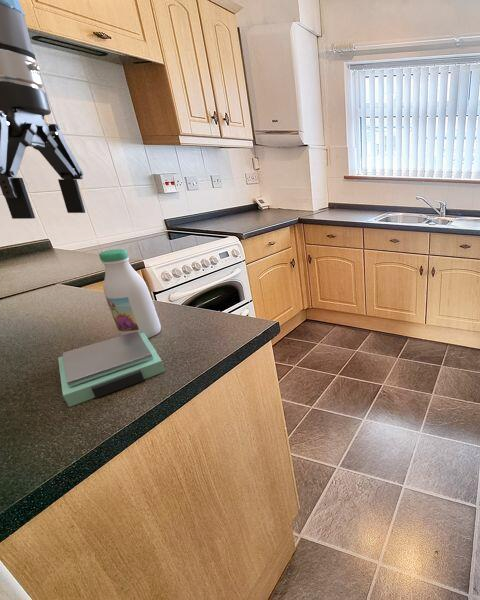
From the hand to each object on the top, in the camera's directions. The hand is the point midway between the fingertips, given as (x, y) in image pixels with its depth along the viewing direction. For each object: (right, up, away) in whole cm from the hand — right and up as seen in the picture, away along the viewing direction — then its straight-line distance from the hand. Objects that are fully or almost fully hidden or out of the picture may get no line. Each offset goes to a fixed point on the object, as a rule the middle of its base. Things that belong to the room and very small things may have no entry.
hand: (53, 215), depth 63 cm
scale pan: (+9, -27, +2) cm, 29 cm away
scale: (+9, -30, +3) cm, 31 cm away
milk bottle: (+5, -24, +16) cm, 29 cm away
